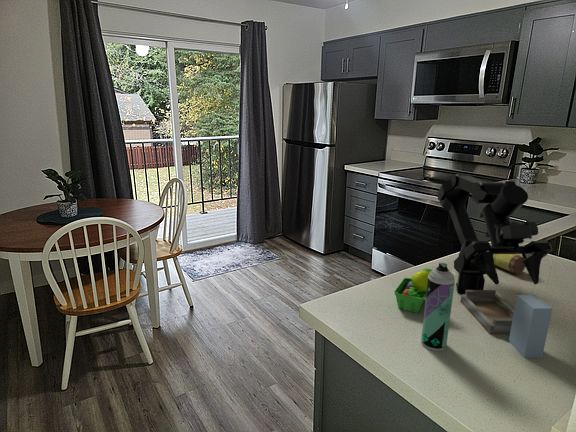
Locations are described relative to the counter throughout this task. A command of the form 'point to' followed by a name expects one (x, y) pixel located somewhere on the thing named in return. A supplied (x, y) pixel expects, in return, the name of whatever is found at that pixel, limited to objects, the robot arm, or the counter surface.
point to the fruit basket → (412, 291)
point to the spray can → (437, 308)
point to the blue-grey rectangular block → (530, 326)
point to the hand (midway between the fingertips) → (517, 283)
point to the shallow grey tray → (489, 310)
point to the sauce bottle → (509, 262)
